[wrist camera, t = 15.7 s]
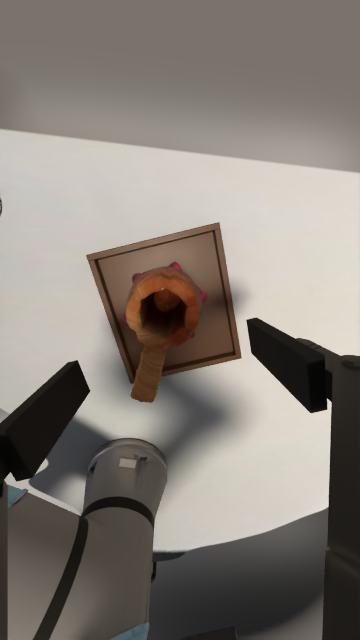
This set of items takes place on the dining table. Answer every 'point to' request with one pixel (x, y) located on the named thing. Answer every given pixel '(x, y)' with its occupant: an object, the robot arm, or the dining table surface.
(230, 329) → the tray
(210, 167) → the dining table surface
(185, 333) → the mug
